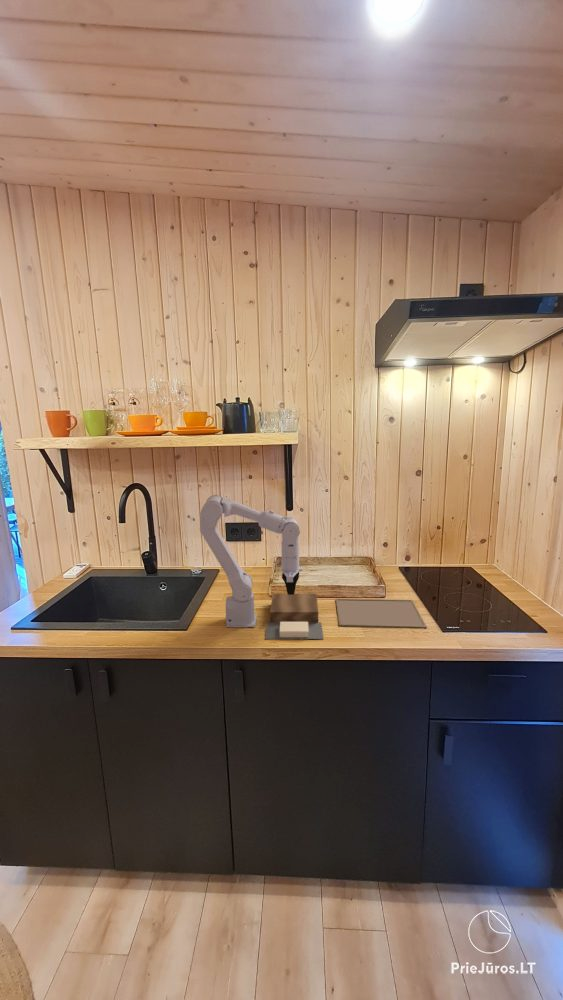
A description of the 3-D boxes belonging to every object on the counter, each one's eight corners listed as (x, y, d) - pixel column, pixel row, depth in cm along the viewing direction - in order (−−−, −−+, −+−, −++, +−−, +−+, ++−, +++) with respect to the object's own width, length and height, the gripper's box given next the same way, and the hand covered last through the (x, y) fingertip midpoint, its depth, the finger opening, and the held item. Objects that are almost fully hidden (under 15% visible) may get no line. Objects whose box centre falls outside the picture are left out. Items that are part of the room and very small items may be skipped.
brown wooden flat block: (270, 623, 135) (270, 612, 134) (272, 603, 149) (272, 593, 148) (318, 623, 134) (318, 612, 133) (316, 603, 148) (316, 593, 147)
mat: (265, 639, 125) (265, 638, 125) (267, 623, 135) (267, 622, 135) (323, 639, 124) (323, 638, 124) (321, 623, 134) (321, 622, 134)
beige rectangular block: (280, 621, 131) (280, 627, 132) (279, 631, 125) (279, 637, 126) (308, 621, 131) (308, 627, 131) (308, 631, 125) (308, 637, 125)
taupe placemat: (339, 627, 132) (426, 629, 130) (339, 624, 132) (426, 626, 130) (335, 601, 151) (412, 602, 149) (335, 598, 151) (412, 599, 148)
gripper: (302, 563, 125) (302, 603, 128) (302, 548, 139) (303, 584, 142) (279, 563, 125) (280, 603, 128) (282, 548, 139) (283, 584, 142)
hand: (290, 593), depth 135 cm, fingers closed
